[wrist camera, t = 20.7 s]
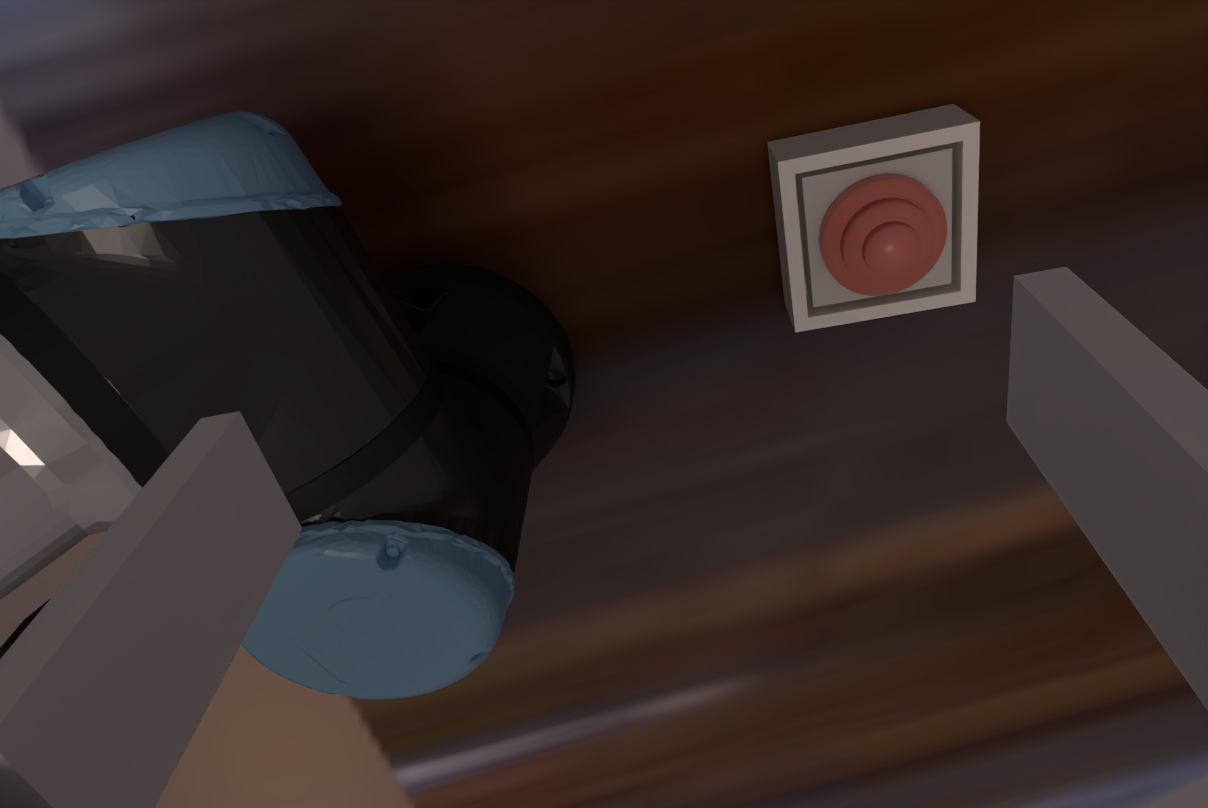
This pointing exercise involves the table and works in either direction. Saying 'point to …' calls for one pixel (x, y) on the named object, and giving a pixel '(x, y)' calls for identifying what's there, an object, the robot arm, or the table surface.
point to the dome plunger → (877, 225)
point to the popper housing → (864, 145)
